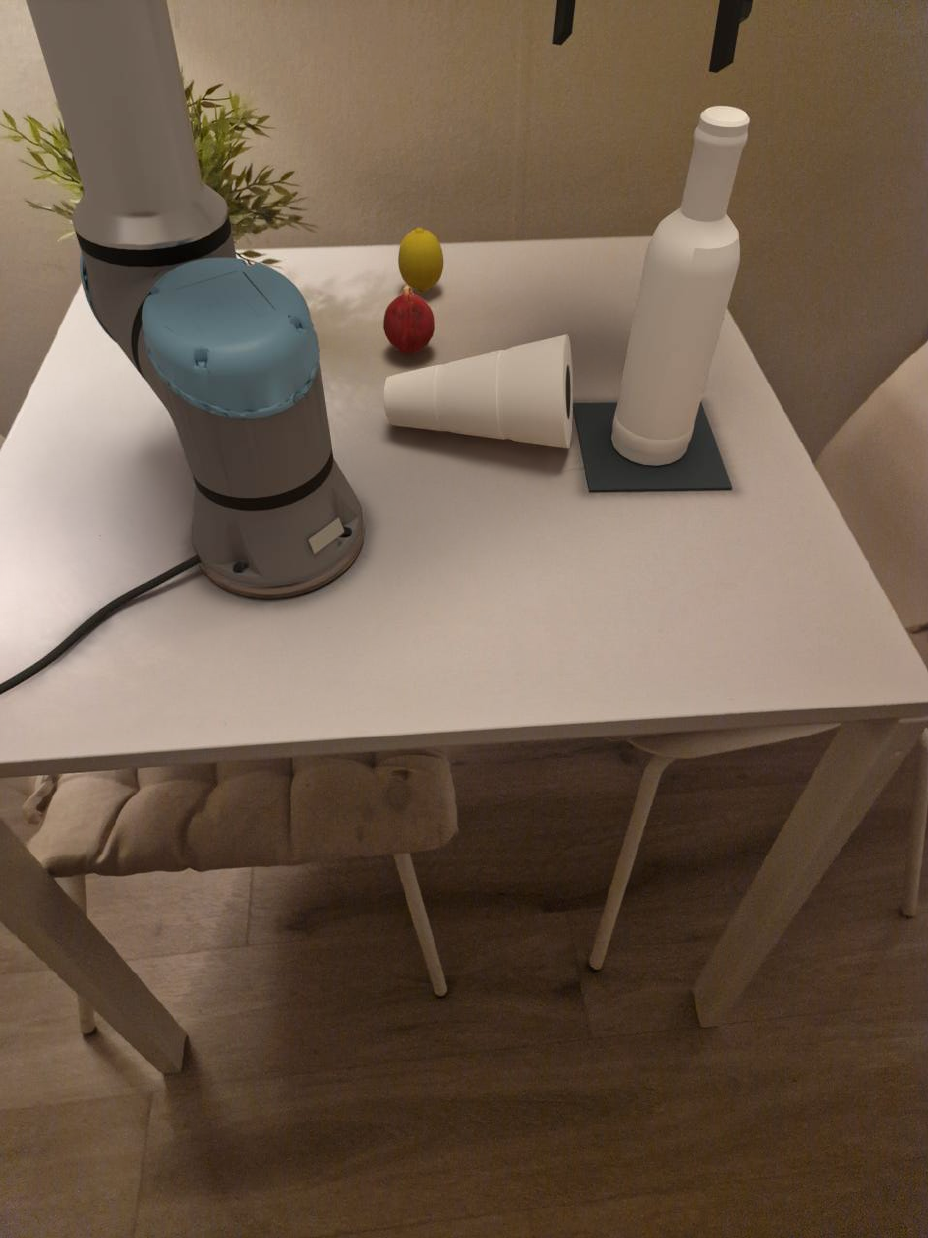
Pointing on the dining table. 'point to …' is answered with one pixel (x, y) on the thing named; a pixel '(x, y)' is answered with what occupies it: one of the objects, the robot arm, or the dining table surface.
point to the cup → (491, 395)
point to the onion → (409, 322)
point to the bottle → (682, 300)
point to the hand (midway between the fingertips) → (642, 53)
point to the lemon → (420, 259)
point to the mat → (622, 474)
